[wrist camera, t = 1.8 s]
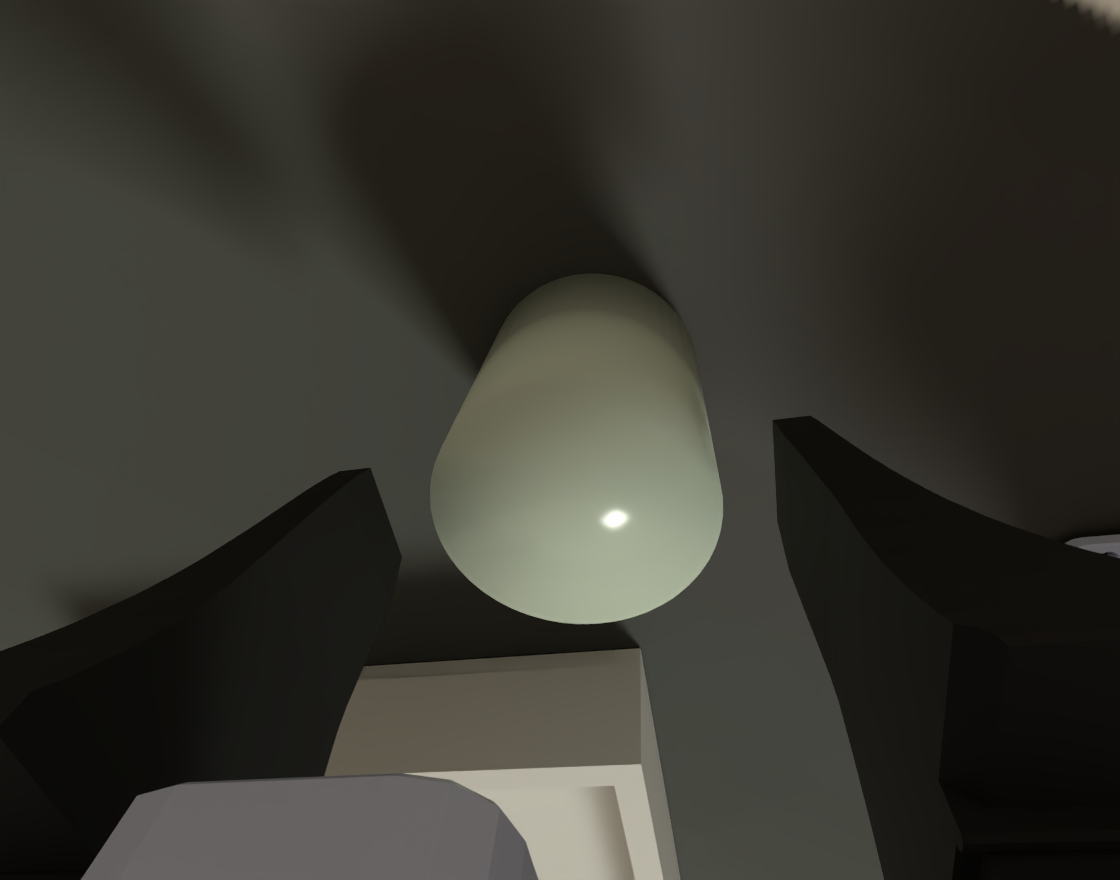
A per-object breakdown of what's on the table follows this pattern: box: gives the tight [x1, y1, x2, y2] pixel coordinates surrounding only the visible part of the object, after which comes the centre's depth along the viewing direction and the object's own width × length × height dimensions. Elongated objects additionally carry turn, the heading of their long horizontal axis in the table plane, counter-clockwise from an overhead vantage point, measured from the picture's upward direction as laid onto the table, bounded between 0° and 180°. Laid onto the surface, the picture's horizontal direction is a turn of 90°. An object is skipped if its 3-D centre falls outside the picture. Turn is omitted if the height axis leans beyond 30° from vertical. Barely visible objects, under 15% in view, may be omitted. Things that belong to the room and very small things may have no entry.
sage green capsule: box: [430, 273, 723, 624], centre depth 15 cm, size 5×5×6 cm
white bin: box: [324, 648, 681, 880], centre depth 25 cm, size 16×16×4 cm
